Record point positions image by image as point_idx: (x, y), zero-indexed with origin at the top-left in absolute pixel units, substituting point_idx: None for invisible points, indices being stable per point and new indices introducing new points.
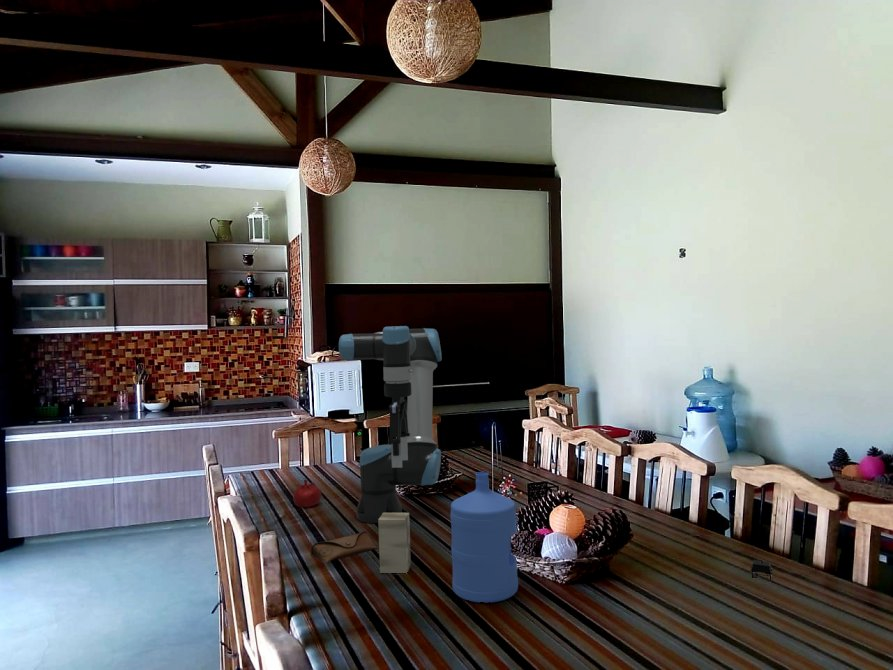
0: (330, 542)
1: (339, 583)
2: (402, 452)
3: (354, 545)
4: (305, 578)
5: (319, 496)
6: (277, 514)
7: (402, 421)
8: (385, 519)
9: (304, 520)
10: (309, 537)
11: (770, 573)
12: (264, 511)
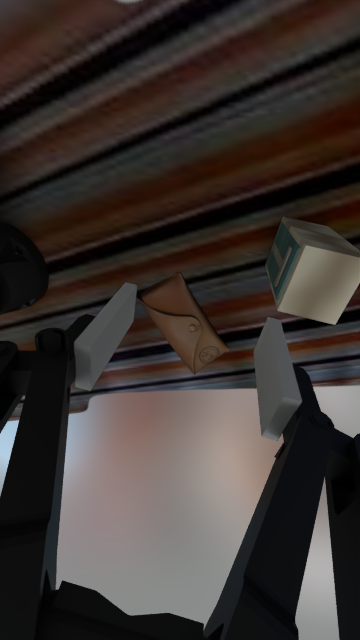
0: (194, 355)
1: (322, 334)
2: (123, 321)
3: (194, 317)
4: None
5: None
6: (22, 400)
7: (57, 474)
8: (342, 309)
9: None
10: (117, 367)
11: None
12: (13, 413)
